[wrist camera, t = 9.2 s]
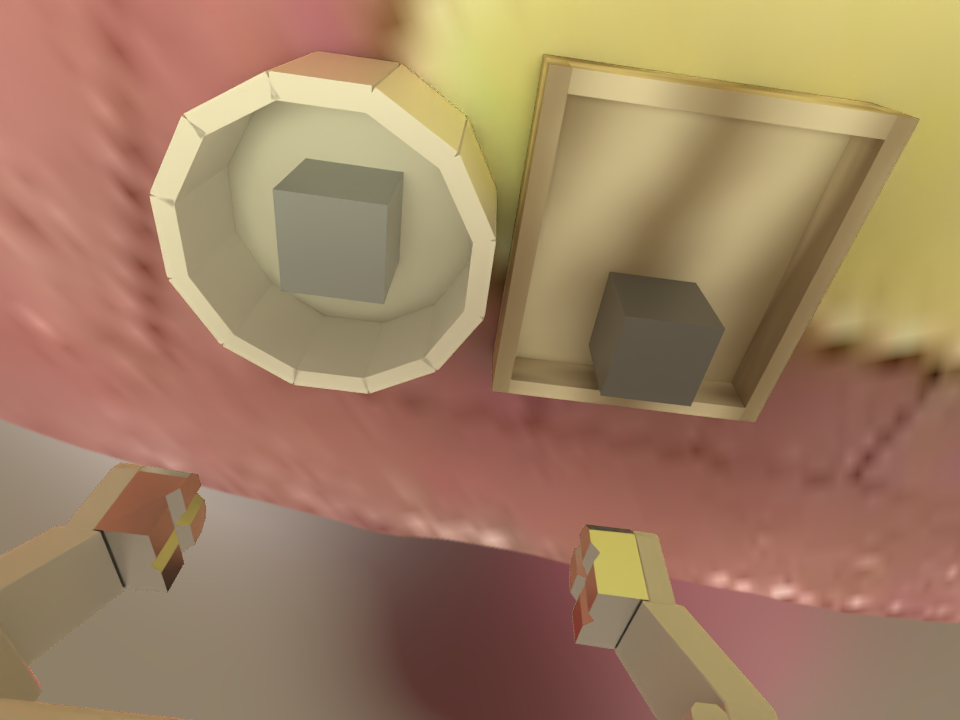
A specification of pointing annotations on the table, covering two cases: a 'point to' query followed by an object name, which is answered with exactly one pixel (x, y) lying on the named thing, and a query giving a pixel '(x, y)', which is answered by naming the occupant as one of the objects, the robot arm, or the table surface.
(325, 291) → the taupe cube
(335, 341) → the bowl
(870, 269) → the table surface
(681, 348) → the charcoal cube
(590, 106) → the parts tray
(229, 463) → the table surface
